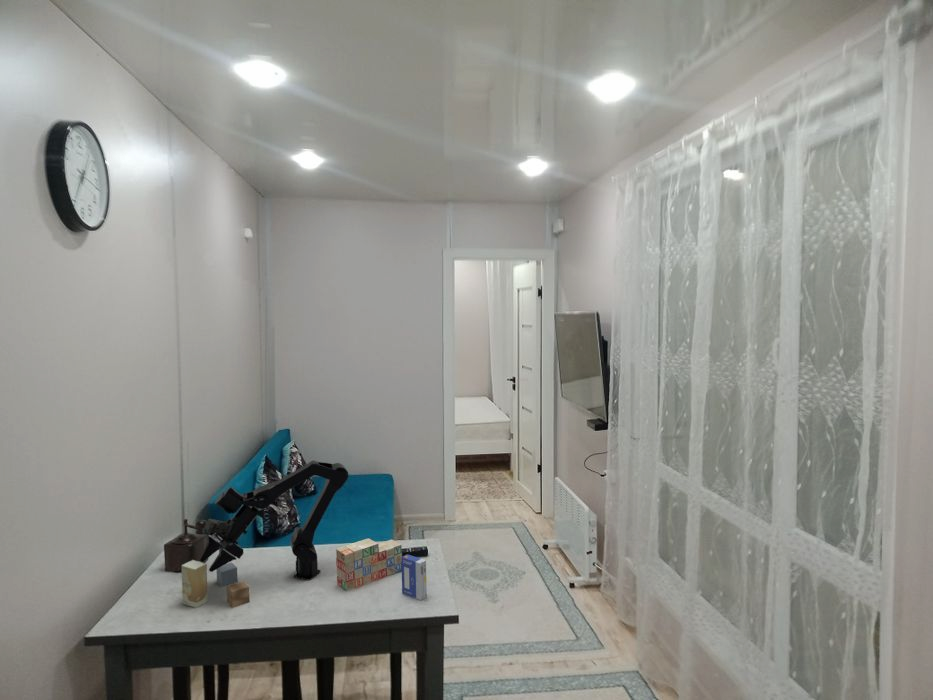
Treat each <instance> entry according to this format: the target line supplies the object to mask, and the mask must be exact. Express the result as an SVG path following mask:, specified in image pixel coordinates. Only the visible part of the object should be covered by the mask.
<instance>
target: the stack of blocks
mask: <svg viewBox="0 0 933 700" xmlns="http://www.w3.org/2000/svg"><path fill="white" fill-rule="evenodd" d="M402 547H403V546H402V544H401V543H399V542H397V541H395V540H394V539H388V540H386V541H382V542H379V543H378V542H376V541H374V540H372V539H371V538H365V539H362V540H359V541H356V542H354V543H350V544H346V545H344V546H341V547H340V546H339V547H337V548H336V549H335V551H336V553H335V554H336V558H335V559H336V560H335V562H336V563H335V564H336V565H335V566H336V583H337V586H339V587H340V588H341V589H343V590H345V592H348V591H351V590H353V589H357V588H360V587H363V586H365V585H367V584H371V583H372V582H376V581H378V580H381V579H383V578H386V577H389V576H392V575H394V574H397V573H399V572H402V561H401V557H403V552H402V551H403V549H402Z"/></svg>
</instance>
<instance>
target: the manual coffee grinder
mask: <svg viewBox="0 0 933 700" xmlns="http://www.w3.org/2000/svg"><path fill="white" fill-rule="evenodd" d="M207 521H208V520H205V519H198V520H197V521H196V522H194V523H195V524H194V525H192V524H189V523H188V519H187V518H185V519H183V525H182V526H184V527H183V529H184V532H183V533H181V534H179V535H177V536H175V537H174V538H172V539H171V540H169V541H167V542H166V543H164V544H163V550H164V551H163V553H164V554H163V555H164V568H165V569H164V572H171V573H172V572H173V573H182V565H183V564H185V563H188V562H190V561H192V560H195V561H199V562H201V561H200V558H201V556H202V554H203V551H204V549H205V547H206V544H207V536H206V534H205V530H206V529H205V526H206V524H207ZM188 528H189V529H194V530H196V531H195V533H192V532H189V531H188ZM209 558H210V557H209ZM209 558H207V559H206V560H205V561H203V562H202V563H205V564H206V563H207V562H208V560H209Z"/></svg>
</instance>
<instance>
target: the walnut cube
mask: <svg viewBox="0 0 933 700" xmlns="http://www.w3.org/2000/svg"><path fill="white" fill-rule="evenodd" d="M226 599H227V601H226V602H227V603H228V604H229V605H230V606H231V608H233V609H234V608H237V607H240V606H243V605H246V604H248V603H250V586H249V585H248V584H247V583H246V582H245V581H244V580H242V581H238V582H236V583H233V584H230V585H226Z"/></svg>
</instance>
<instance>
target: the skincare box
mask: <svg viewBox="0 0 933 700" xmlns="http://www.w3.org/2000/svg"><path fill="white" fill-rule="evenodd" d="M207 566H208V565H207V563H206V562H205V563H202V562H199V561H195V560H192V561H190V562H188V563H185V564H183V565H182V572H181V590H182V592H181V593H182V596H181V598H182V604H184V605H186V606H189V607H193V608H195V609H196V608H199V607H201V606H202V605H204V604H205V603H207V602H208V572H207V571H208V567H207Z"/></svg>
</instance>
